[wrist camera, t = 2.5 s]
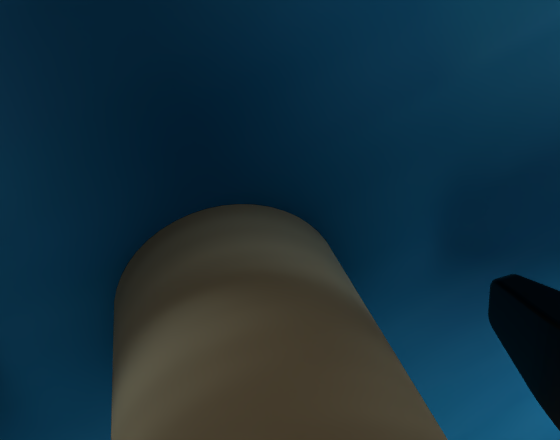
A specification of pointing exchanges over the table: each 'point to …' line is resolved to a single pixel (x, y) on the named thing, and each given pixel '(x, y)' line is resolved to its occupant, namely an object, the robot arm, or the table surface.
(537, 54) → the table surface
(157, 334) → the wooden cylinder
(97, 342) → the table surface
